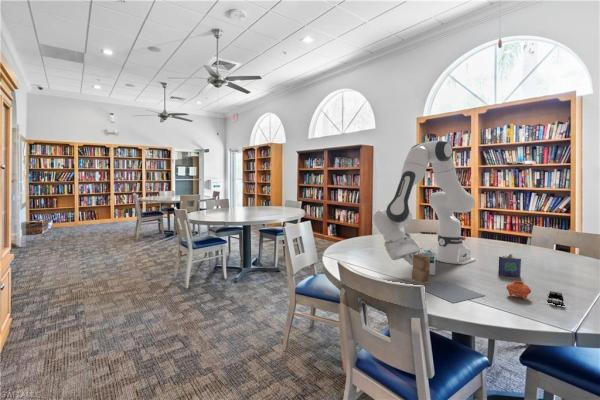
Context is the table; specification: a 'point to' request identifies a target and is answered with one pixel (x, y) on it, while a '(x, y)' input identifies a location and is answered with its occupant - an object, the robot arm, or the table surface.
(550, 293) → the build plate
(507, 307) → the table surface
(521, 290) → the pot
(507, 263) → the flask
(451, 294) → the mat
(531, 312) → the table surface
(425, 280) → the walnut block
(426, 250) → the light bulb box
